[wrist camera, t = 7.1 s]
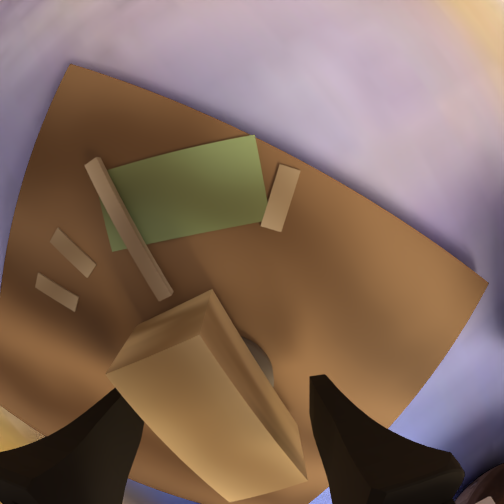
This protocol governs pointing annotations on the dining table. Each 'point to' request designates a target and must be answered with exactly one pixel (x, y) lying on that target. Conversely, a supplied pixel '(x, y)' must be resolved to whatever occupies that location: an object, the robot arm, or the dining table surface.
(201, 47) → the dining table surface
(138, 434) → the robot arm
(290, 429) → the peg key
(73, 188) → the brown flat square board
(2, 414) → the dining table surface
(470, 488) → the wooden sphere
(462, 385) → the dining table surface
